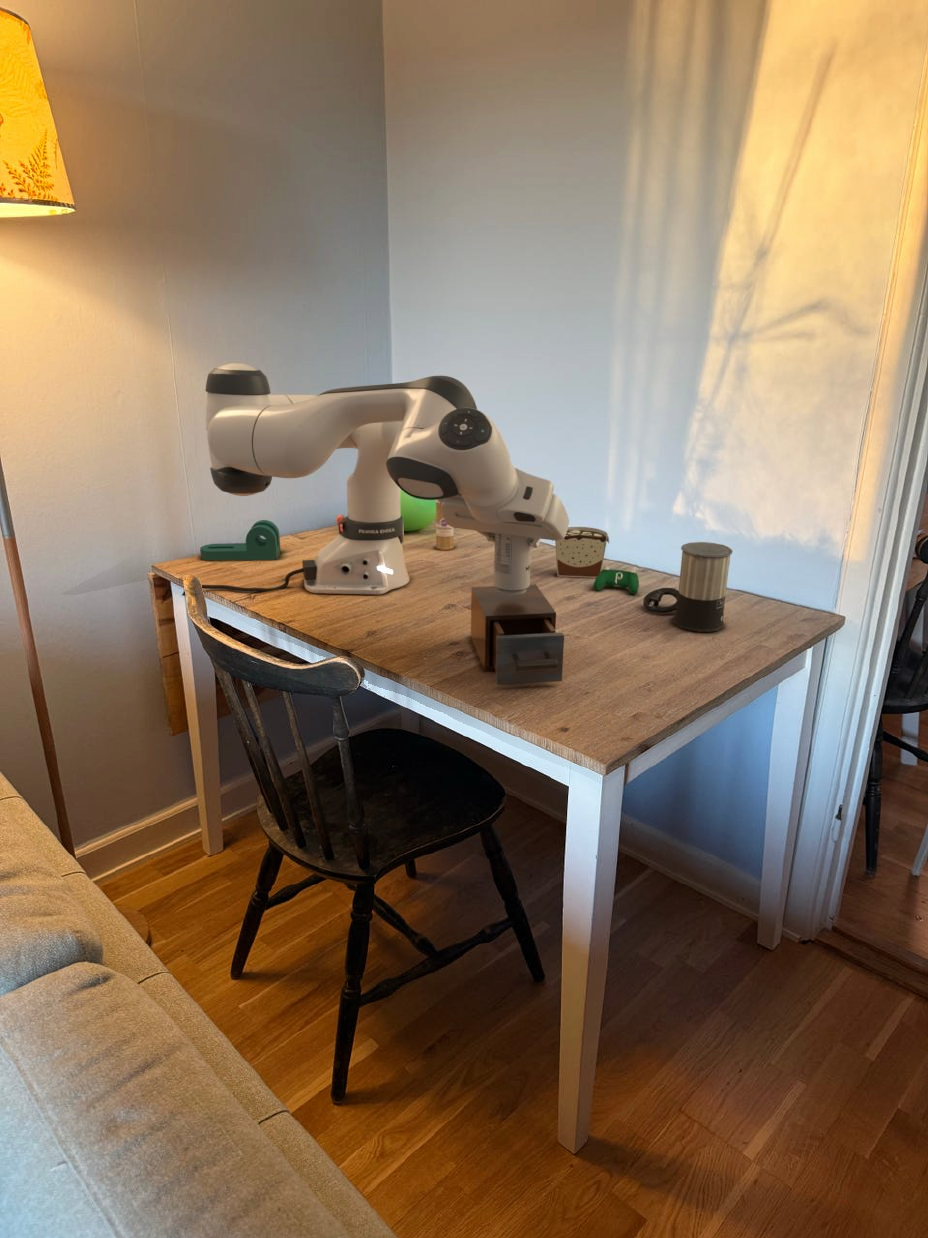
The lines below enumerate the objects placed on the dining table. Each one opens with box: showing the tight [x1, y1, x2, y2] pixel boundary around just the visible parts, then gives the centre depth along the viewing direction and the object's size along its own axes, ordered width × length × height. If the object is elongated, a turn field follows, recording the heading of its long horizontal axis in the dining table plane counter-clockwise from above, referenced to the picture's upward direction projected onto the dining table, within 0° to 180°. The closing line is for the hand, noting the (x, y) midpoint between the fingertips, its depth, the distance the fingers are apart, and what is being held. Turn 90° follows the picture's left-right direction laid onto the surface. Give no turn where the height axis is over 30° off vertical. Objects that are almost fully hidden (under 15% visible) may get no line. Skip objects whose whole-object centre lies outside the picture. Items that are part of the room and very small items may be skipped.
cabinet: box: [470, 584, 557, 672], centre depth 141 cm, size 15×12×10 cm
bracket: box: [199, 519, 282, 562], centre depth 194 cm, size 18×7×8 cm, turn 94°
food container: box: [551, 526, 610, 579], centre depth 183 cm, size 12×6×10 cm, turn 84°
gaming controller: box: [593, 565, 640, 596], centre depth 174 cm, size 9×4×6 cm
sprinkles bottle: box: [435, 500, 455, 551], centre depth 201 cm, size 5×5×14 cm
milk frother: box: [643, 541, 733, 633], centre depth 156 cm, size 14×16×15 cm
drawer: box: [490, 618, 565, 686], centre depth 131 cm, size 18×10×8 cm, turn 8°
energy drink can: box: [493, 533, 532, 595], centre depth 136 cm, size 6×6×15 cm
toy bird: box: [400, 489, 436, 532], centre depth 217 cm, size 18×17×15 cm
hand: (514, 540), depth 136 cm, fingers closed on energy drink can, 6 cm apart
